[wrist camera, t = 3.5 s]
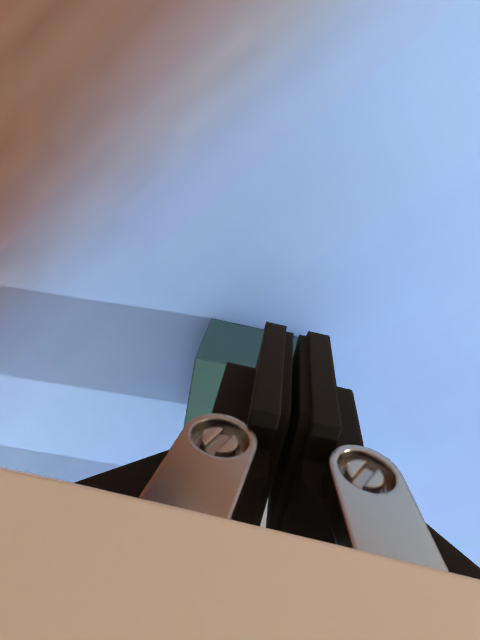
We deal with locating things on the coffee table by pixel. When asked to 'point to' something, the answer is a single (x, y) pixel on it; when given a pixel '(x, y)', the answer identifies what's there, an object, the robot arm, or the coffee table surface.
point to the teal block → (220, 361)
